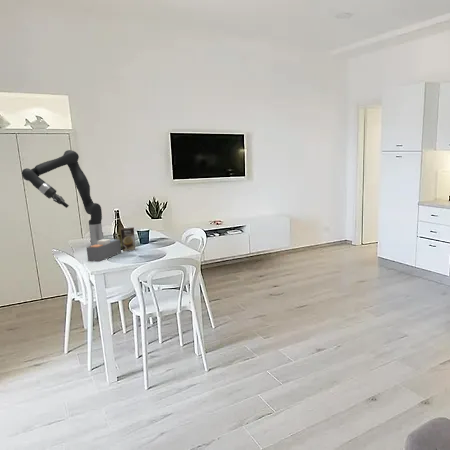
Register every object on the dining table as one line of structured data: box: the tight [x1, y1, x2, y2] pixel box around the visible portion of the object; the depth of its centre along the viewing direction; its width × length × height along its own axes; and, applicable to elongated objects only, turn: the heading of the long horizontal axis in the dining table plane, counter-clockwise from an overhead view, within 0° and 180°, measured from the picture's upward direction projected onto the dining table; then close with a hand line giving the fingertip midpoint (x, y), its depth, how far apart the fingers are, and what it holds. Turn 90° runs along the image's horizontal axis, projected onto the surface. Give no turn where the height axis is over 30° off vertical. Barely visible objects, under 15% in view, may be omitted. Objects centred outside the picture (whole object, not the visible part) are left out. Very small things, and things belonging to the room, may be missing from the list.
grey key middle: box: [97, 238, 110, 245], centre depth 265 cm, size 6×6×3 cm
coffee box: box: [120, 227, 137, 252], centre depth 281 cm, size 9×6×16 cm
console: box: [86, 239, 122, 262], centre depth 266 cm, size 25×9×9 cm, turn 161°
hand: (67, 206), depth 274 cm, fingers closed
